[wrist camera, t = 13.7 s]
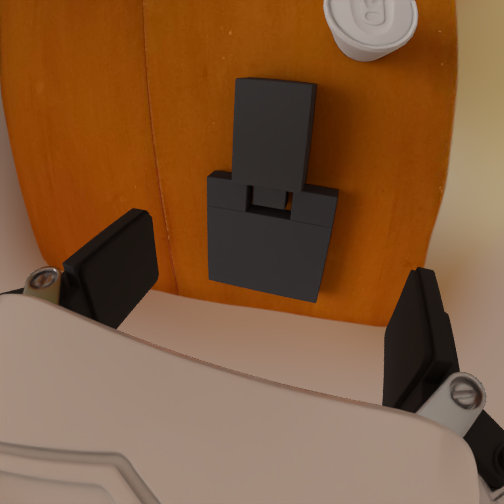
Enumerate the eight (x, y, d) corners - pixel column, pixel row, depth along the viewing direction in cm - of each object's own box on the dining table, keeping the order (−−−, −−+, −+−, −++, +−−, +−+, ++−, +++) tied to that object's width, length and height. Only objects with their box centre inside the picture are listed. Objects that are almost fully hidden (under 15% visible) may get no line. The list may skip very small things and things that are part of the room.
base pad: (338, 189, 29) (337, 197, 27) (318, 291, 35) (315, 303, 33) (214, 170, 31) (206, 176, 29) (215, 269, 38) (208, 279, 36)
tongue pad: (316, 83, 24) (312, 85, 21) (302, 206, 30) (297, 221, 28) (248, 77, 25) (235, 78, 22) (242, 195, 32) (230, 210, 29)
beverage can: (389, 12, 19) (416, -28, 9) (390, 64, 21) (422, 58, 12) (331, 8, 20) (318, -37, 10) (333, 60, 23) (324, 48, 13)
